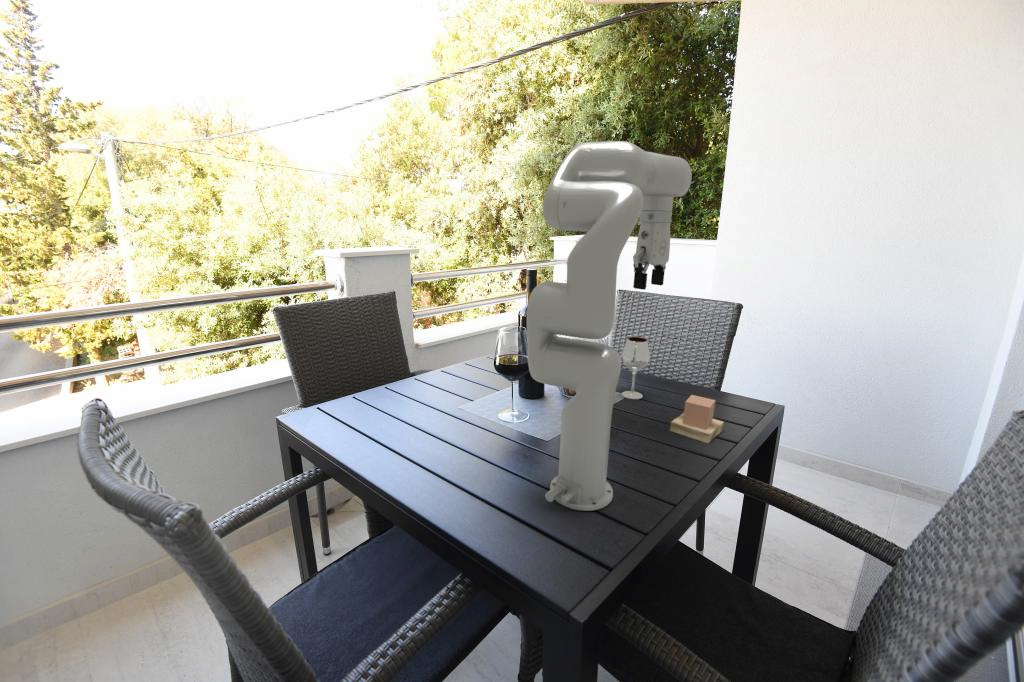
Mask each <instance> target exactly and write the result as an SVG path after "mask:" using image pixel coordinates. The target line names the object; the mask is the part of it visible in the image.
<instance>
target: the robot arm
mask: <svg viewBox="0 0 1024 682" xmlns="http://www.w3.org/2000/svg"><path fill="white" fill-rule="evenodd" d="M691 184H692V168H691V166H690V164H689V162H688V161H687V160H686V159H685V158H682V157H679V156H675V155H673V156H672V155H667V154H663V153H662V154H661V153H658V152H651V151H646V150H644V149H642V148H641V147H639V146H637V145H636V144H634V143H633V142H630V141H624V140H610V141H609V140H608V141H607V140H606V141H588V142H587V141H585V142H580V143H578V144H575V145H574V146H573V147H572V148H571V149H570V150H569V151H568V152H567V154H566V155H565V157H564V158H563V159H562V161H561V163H560V164H559V166H558V169H556V172H555V174H554V176H553V177H552V179H551V181H550V183H549V185H548V186H547V189H546V191H545V194H544V197H543V201H542V215H543V218H544V221H545V222H546V224H547V225H548V227H550V228H552V229H554V230H556V231H557V230H558V231H569V232H570V231H571V232H586V233H585V234H584V235H583V236H581V238H580V239H579V240H578V242H577V243H576V244H575V245H574V246H573V248H572V250H571V251H570V253H569V254H568V257H567V261H566V262H567V263H566V282H558V281H557V282H556V281H548V282H547V281H544V282H541V283H539V284H537V285H536V286H535V287H534V288H533V289H532V290H531V292H530V295H529V298H528V301H527V306H526V339H527V340H526V341H527V363H528V364H527V365H528V370H529V374H530V377H532V379H533V380H535V381H536V382H538V383H541V384H543V385H548V386H554V387H557V388H562V389H563V388H564V389H567V390H571V391H574V392H575V395H574V396H572V397H571V398H570V399H569V400H568V401H566V403H565V405H564V406H563V408H562V411H561V420H560V421H561V425H560V440H559V458H558V459H559V460H558V462H559V463H558V475H556V476H555V477H554V478H553V479H551V482H550V485H549V490H548V491H547V492H545V493H544V498H545V500H546V501H548V503H552V502H553V501H556V502H557V503H558V504H560V505H562V506H564V507H565V508H569V509H571V510H577V511H583V512H585V511H588V512H590V511H598V510H601V509H603V508H605V507H606V506H608V505H609V504H610V503H611V502H612V501H613V498H614V490H613V487H612V486H611V484H610V483H609V481H607V476H608V463H609V462H608V461H609V453H610V452H609V451H610V443H611V441H610V440H611V427H612V417H613V416H612V415H613V409H614V403H615V402H614V401H615V400H614V399H615V395H616V392H617V391H616V390H617V387H618V384H619V383H618V382H619V378H620V375H621V370H622V357H621V355H620V354H619V352H618V350H616V349H615V348H613V347H611V346H609V345H607V344H605V343H601V342H596V341H589V340H599V339H600V340H601V339H604V338H607V337H608V336H609V335H610V334H611V332H612V330H613V328H614V324H615V316H616V315H615V314H616V297H617V294H616V293H617V277H618V276H617V274H618V273H617V272H618V263H619V260H620V257H621V254H622V251H623V250H624V247H625V245H626V244H627V242H628V240H629V238H630V236H631V234H632V233H633V231H634V229H635V227H636V225H637V223H638V224H639V225H640V226H639V231H638V236H637V241H636V248H635V249H636V250H635V253H634V254H633V256H632V261H633V272H634V276H633V277H634V278H633V285H632V287H633V289H635V290H637V289H638V290H643V291H644V290H646V289H647V281H648V273H647V271H648V269H649V266H653V268H652V271H651V278H650V279H651V280H650V281H651V282H650V284H651V285H656V286H663V285H664V280H665V270H666V269H667V268H666V264H667V263H669V261H670V252H671V251H670V248H671V224H672V213H673V204H674V197H675V198H676V197H677V198H678V197H683V196H685V195H686V194H687V193H688V191H689V189H690V187H691ZM638 221H639V222H638ZM558 335H560V336H558ZM562 336H566V337H562ZM568 337H572V338H568ZM575 338H578V339H575ZM582 339H586V340H582ZM587 339H588V340H587Z"/></svg>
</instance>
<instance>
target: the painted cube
mask: <svg viewBox="0 0 1024 682" xmlns="http://www.w3.org/2000/svg"><path fill="white" fill-rule="evenodd" d="M715 407H716V399H713V398H707V397H704V396H703V397H702V396H699V395H694V394H691V395H690V396H689V397H688V399H686V401H685V402H684V409H683V413H684V416H683V424H687V425H691V426H695V427H699V428H702V429H706V430H707V428H708V427H709V425H710V424H711V423H712V420H713V419H714V414H715V413H714V412H715Z"/></svg>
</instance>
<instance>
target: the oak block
mask: <svg viewBox="0 0 1024 682" xmlns="http://www.w3.org/2000/svg"><path fill="white" fill-rule="evenodd" d="M683 416H684V412H683V413H681V414H680V415H679V416H677V417H676V418H674V419H673V420H672V421H670V424H669V425H670V426H669V427H670V428H669V431H670V432H672V433H676V434H679V435H682V436H685V437H687V438H690V439H693V440H697V441H700V442H702V443H705V444H709V443H711V442H712V441H713V440H714V439H715V438H716V437H717V436H718V435H719V434H721V432H723V430H724V429H723V428H724V424H725V422H724V421H722V420H719V419H716V418H713V420H712V423H711V424H710V425H709V427H708V428H707V430H706V429H702V428H699V427H695V426H691V425H687V424H683Z"/></svg>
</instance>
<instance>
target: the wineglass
mask: <svg viewBox="0 0 1024 682" xmlns="http://www.w3.org/2000/svg"><path fill="white" fill-rule="evenodd" d="M650 353H651V352H650V348H649V341H648V339H647V338H644V337H640V336H629V337H628V338H627V340H626V341H625V345H624V347H623V350H622V355H621V361H622V362H623V364H624V365H625V366H626V367H627V368H628V369H629V370H630V372H631V373H632V379H631V388H630V389H631V390H624V391H623V392H622V393H621V396H622V397H623V398H626V399H628V400H640V399H643V397H644V395H643V394H642V393H640V392H638V391H635V382H636V374H637V373H638V372H640V371H641V370H643V369H644V368H645V367H646V366H647V365H648V364H650V360H651V354H650Z"/></svg>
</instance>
